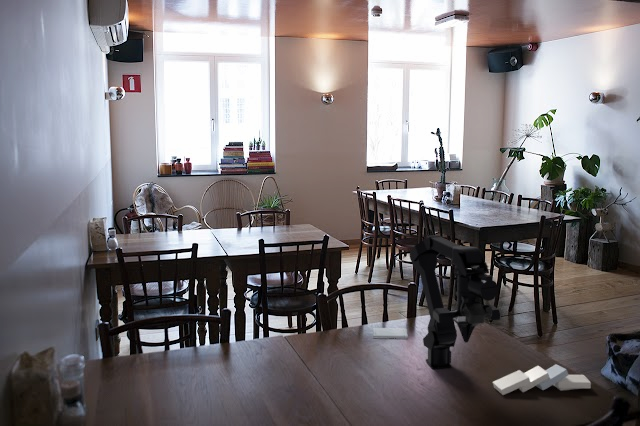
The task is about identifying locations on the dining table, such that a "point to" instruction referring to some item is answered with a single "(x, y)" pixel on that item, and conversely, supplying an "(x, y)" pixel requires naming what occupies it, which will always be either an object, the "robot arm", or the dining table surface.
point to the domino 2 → (535, 377)
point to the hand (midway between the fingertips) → (465, 342)
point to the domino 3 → (553, 376)
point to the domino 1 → (511, 382)
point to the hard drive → (390, 333)
